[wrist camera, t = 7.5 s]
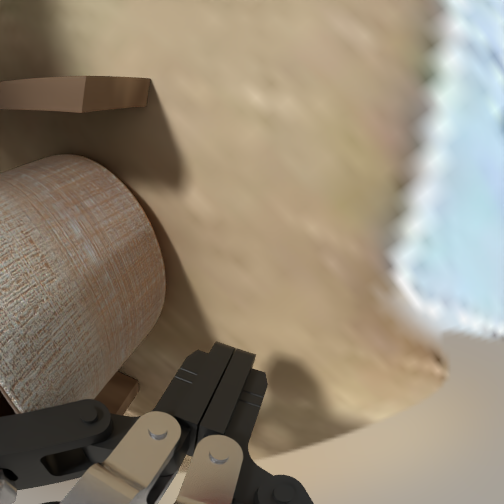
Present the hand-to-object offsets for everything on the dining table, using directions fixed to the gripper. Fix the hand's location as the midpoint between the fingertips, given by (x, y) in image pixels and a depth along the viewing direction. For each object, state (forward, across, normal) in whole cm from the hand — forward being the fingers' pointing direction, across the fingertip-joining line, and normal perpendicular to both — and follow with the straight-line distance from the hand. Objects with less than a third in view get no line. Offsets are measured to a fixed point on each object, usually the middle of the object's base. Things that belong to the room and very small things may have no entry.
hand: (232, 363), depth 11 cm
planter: (+4, +10, 0) cm, 10 cm away
